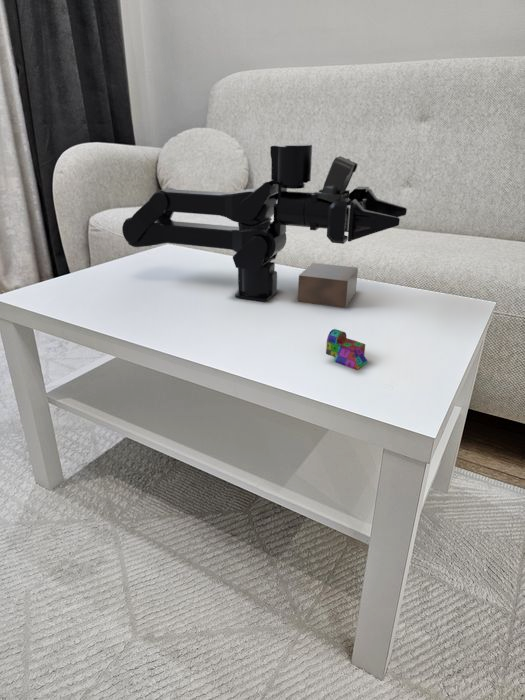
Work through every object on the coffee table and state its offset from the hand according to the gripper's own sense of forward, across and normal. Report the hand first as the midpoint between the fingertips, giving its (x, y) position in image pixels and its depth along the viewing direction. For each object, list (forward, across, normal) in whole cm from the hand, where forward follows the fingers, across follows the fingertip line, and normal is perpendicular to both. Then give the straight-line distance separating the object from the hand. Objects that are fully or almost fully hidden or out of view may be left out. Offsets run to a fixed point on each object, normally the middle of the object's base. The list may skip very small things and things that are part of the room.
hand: (403, 216), depth 76 cm
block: (-3, -20, +17) cm, 26 cm away
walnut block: (-12, +4, +17) cm, 21 cm away
